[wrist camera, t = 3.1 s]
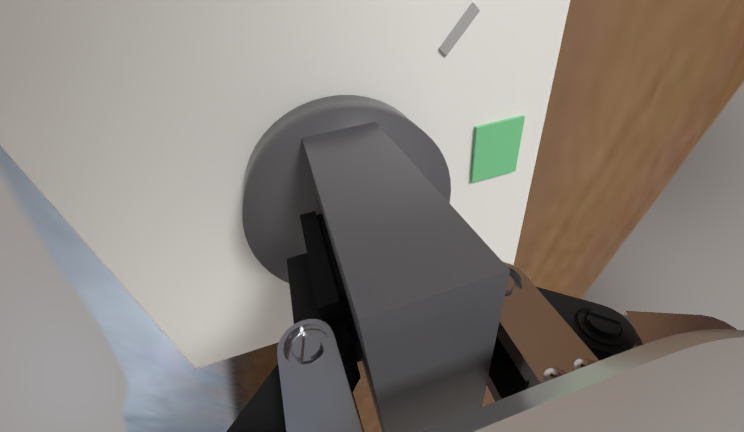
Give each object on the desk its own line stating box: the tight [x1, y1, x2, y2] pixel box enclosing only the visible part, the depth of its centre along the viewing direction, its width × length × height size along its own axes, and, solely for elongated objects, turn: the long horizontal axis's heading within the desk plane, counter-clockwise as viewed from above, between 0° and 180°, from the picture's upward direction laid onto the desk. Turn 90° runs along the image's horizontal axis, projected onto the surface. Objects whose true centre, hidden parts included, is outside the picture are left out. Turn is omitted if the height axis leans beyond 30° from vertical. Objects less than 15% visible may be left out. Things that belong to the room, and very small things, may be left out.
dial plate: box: [0, 0, 570, 369], centre depth 15 cm, size 18×20×2 cm
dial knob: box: [242, 95, 510, 432], centre depth 11 cm, size 12×8×9 cm, turn 7°
